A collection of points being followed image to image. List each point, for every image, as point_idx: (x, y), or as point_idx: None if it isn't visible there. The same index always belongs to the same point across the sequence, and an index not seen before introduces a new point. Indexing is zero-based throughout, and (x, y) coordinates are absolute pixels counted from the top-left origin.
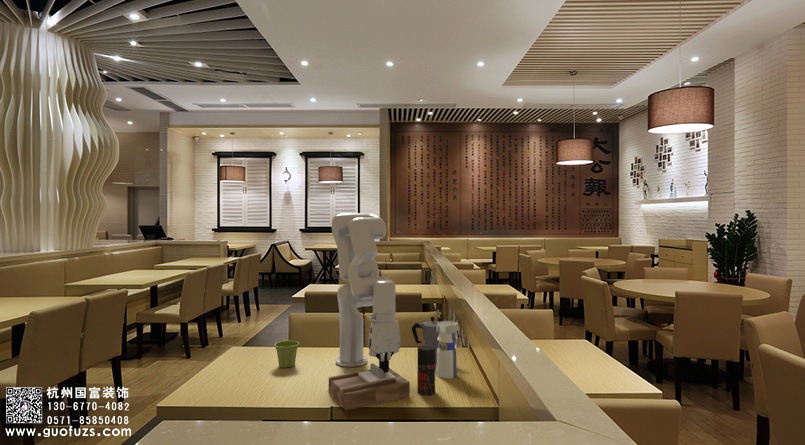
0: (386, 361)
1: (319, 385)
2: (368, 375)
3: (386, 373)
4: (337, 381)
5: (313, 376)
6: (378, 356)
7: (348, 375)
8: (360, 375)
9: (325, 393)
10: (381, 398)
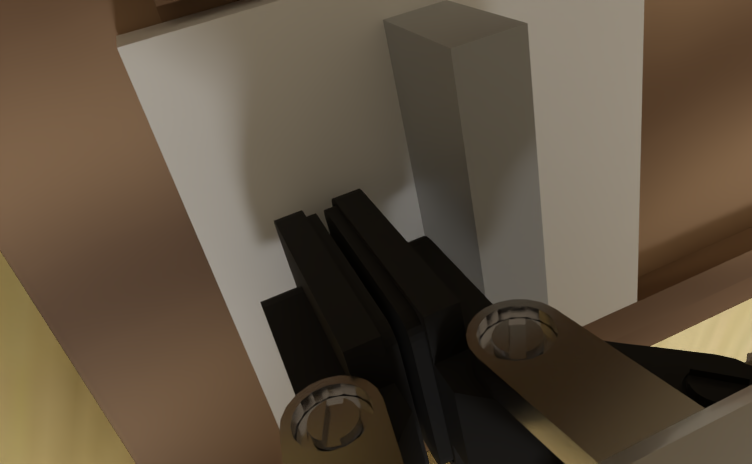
0: (383, 340)
1: (720, 323)
2: (565, 188)
3: None
4: None
5: None
6: (677, 376)
7: (720, 256)
8: (629, 228)
9: None
10: None
